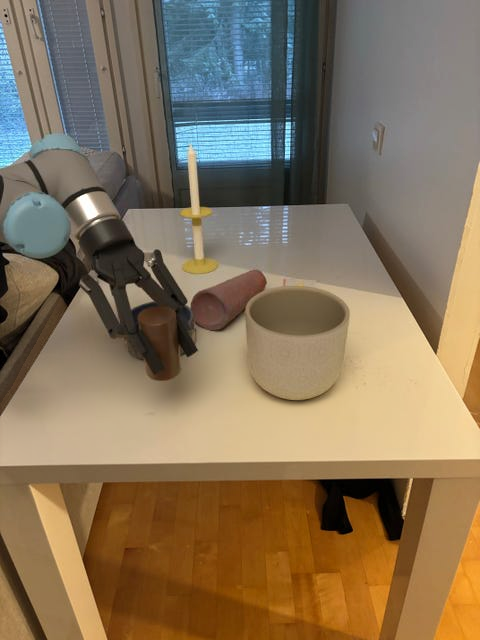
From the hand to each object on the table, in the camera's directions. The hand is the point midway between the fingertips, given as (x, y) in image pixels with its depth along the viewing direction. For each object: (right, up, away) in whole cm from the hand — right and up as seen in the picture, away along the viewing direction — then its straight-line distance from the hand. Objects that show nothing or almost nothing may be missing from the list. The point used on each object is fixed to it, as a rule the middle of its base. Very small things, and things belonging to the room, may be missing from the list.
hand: (176, 362), depth 69 cm
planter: (+19, -5, +16) cm, 25 cm away
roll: (-3, -2, +4) cm, 5 cm away
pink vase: (+9, +8, +38) cm, 40 cm away
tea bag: (+22, +6, +34) cm, 41 cm away
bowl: (-7, +2, +28) cm, 29 cm away
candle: (-2, +21, +60) cm, 63 cm away
